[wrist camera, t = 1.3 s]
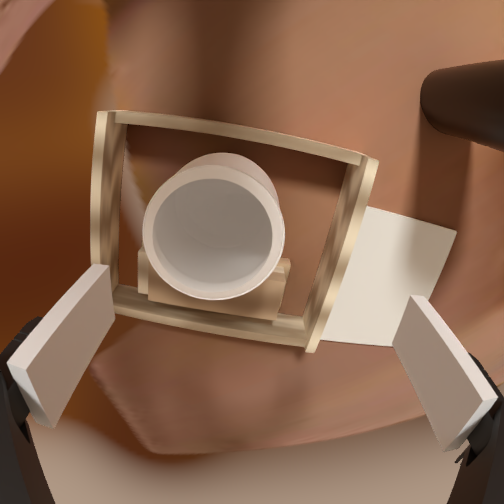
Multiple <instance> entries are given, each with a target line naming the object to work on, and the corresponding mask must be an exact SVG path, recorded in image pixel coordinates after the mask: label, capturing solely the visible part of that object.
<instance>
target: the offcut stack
mask: <svg viewBox="0 0 504 504" xmlns="http://www.w3.org/2000/svg"><path fill="white" fill-rule="evenodd" d="M290 266H291V264H290V259H287V258H281V257H280V259H279V262H278V264H277V265H276V267H275V269H274V270H273V272H272V273H271V274H270V275H269V277H268V278H267V279H266V280H265V281H264V282H263V283H261V284H260V285H259V286H258V287H256V288H255V289H253V290H251V291H250V292H248V293H245V294H243V295H241V296H238V297H234V298H230V299H224V300H205V299H199V298H195V297H192V296H189V295H186V294H184V293H182V292H180V291H178V290H176V289H175V288H173V287H172V286H170V285H169V284H168V283H167V282H165V281H164V280H163V279H162V278H161V277H160V276H159V274H158V273H157V272H156V271H155V269H154V268H153V266H152V265H151V263H150V261H149V259H148V257H147V254H146V251H145V248H144V243H143V241H142V247H141V249H140V250H139V251H138V293H142V294H148V300H150V301H155V302H160V303H166V304H171V305H177V306H183V307H189V308H194V309H200V310H207V311H213V312H219V313H226V314H232V315H239V316H246V317H253V318H260V319H267V320H275V321H276V319H277V315H278V311H279V307H280V306H281V302H282V298H283V294H284V290H285V286H286V282H287V278H288V274H289V270H290Z"/></svg>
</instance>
